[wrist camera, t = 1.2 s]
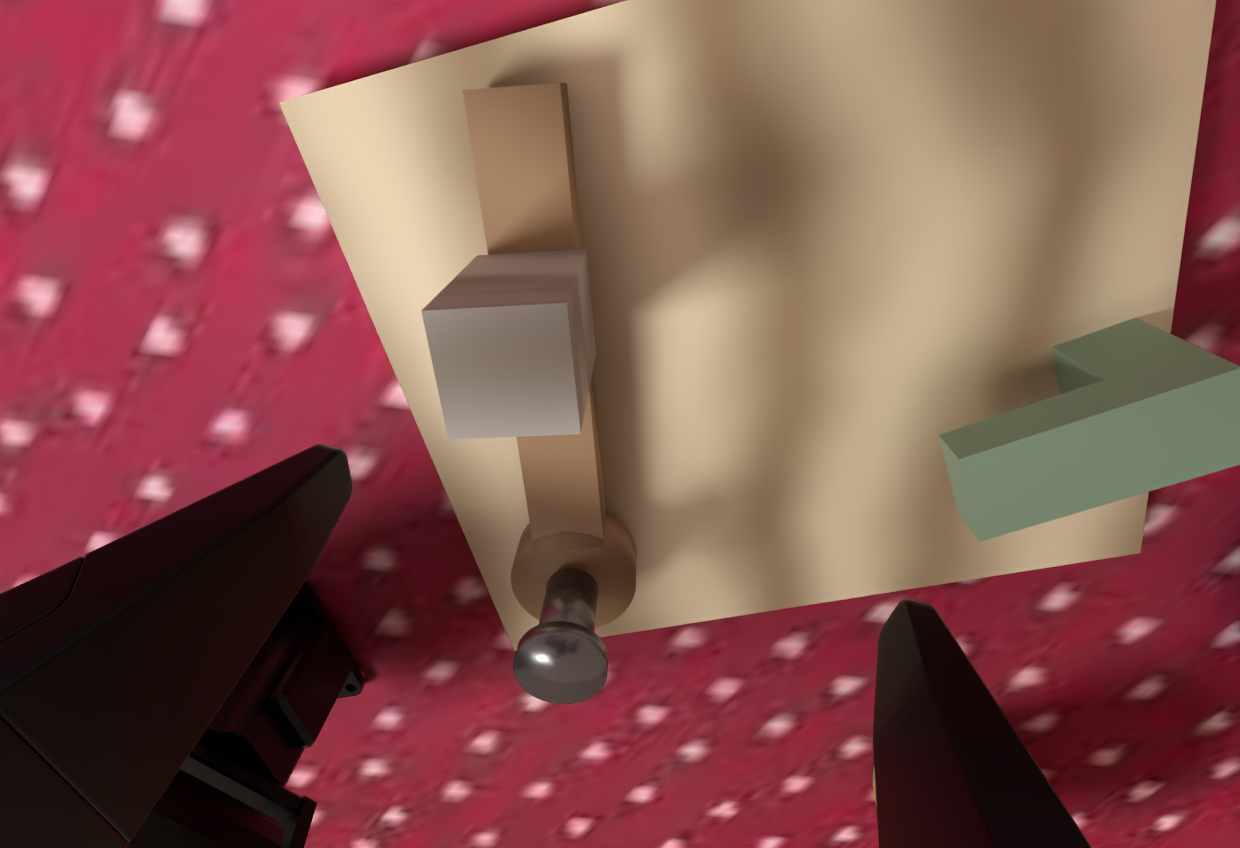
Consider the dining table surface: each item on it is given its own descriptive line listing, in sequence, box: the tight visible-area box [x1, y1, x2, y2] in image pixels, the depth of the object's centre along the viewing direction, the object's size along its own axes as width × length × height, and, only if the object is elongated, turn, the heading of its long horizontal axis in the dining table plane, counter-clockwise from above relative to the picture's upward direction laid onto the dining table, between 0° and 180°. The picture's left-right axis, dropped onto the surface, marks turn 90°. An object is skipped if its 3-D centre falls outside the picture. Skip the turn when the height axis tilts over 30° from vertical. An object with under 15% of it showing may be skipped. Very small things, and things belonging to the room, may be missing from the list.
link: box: [421, 83, 637, 628], centre depth 18 cm, size 18×4×7 cm, turn 4°
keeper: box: [939, 318, 1240, 542], centre depth 20 cm, size 7×3×5 cm, turn 114°
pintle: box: [513, 568, 608, 704], centre depth 21 cm, size 3×3×4 cm
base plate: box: [279, 0, 1216, 651], centre depth 21 cm, size 24×21×1 cm
